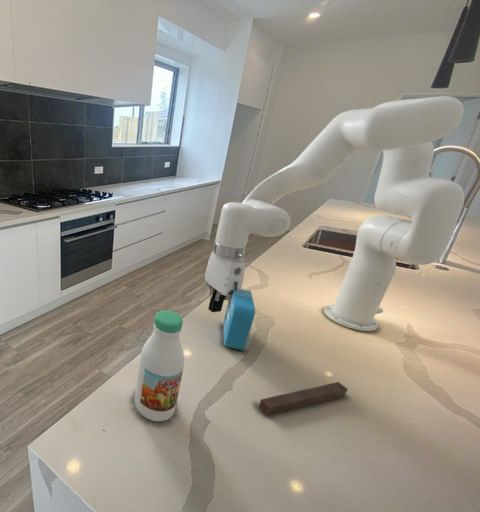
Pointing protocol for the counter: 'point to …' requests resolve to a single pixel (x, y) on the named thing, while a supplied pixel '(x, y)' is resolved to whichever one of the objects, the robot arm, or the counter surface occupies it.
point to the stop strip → (302, 398)
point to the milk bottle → (160, 369)
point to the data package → (238, 319)
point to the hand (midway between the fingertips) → (214, 310)
